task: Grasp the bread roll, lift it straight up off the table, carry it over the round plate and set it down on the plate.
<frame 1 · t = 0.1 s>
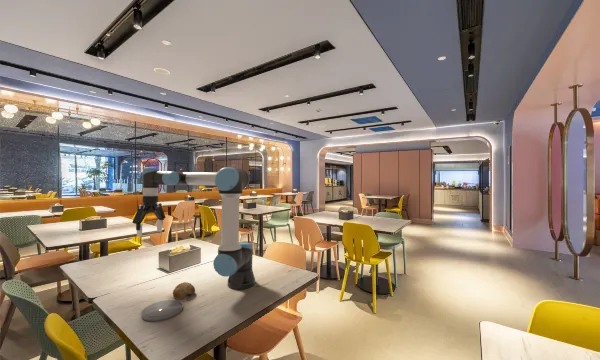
hand: (149, 233, 140), 28 cm above the table, fingers open, 13 cm apart
plate: (162, 311, 111), on the table
bread roll: (183, 295, 127), on the table
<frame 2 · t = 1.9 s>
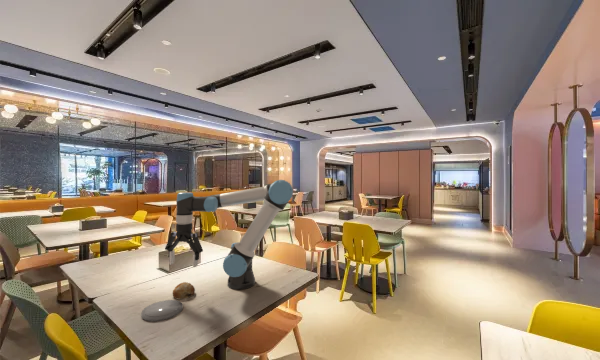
hand: (183, 265, 127), 15 cm above the table, fingers open, 13 cm apart
nothing on the table moved.
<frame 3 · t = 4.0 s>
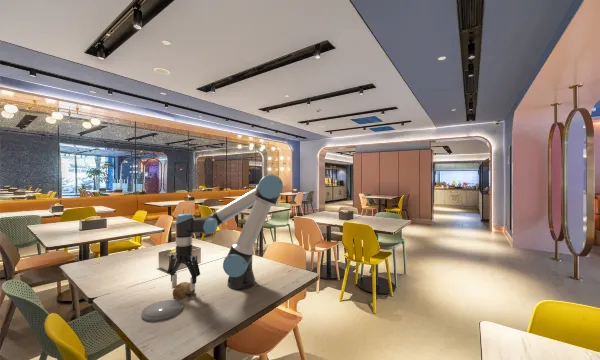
hand: (183, 288, 127), 3 cm above the table, fingers closed on bread roll, 10 cm apart
bread roll: (183, 295, 127), on the table, touching gripper
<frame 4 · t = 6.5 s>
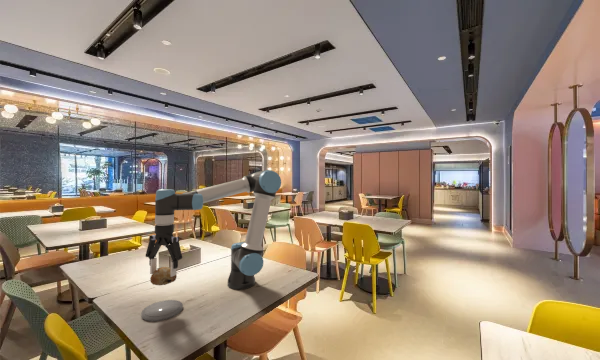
hand: (163, 274, 112), 16 cm above the table, fingers closed on bread roll, 10 cm apart
bread roll: (162, 281, 112), point 13 cm above the table, touching gripper
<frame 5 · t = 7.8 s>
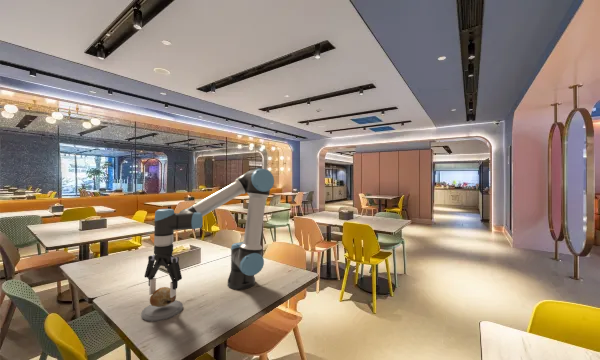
hand: (162, 294, 111), 7 cm above the table, fingers closed on bread roll, 10 cm apart
bread roll: (162, 302, 111), point 4 cm above the table, touching gripper
when the fingers open (6 cm above the table, at t = 9.0 s): bread roll drops 1 cm, resting on plate.
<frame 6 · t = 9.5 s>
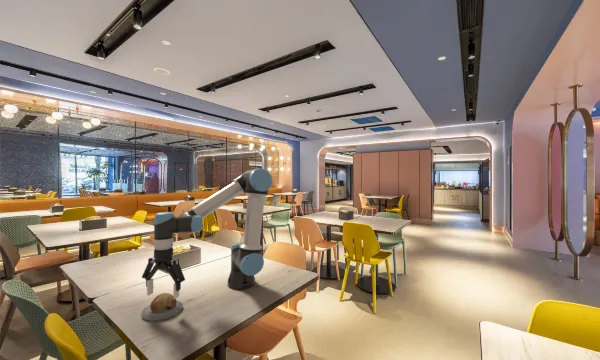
hand: (162, 296, 111), 7 cm above the table, fingers open, 13 cm apart
bread roll: (162, 308, 111), point 1 cm above the table, touching plate
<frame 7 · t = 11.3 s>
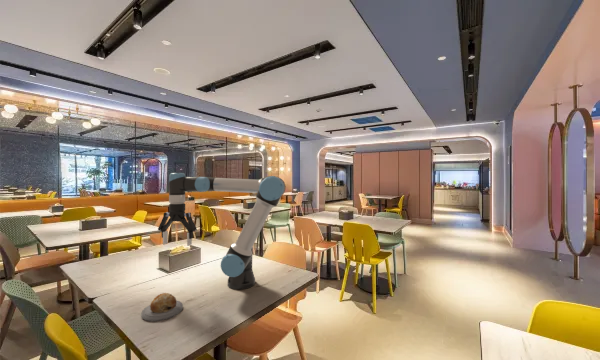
hand: (177, 244, 129), 25 cm above the table, fingers open, 13 cm apart
nothing on the table moved.
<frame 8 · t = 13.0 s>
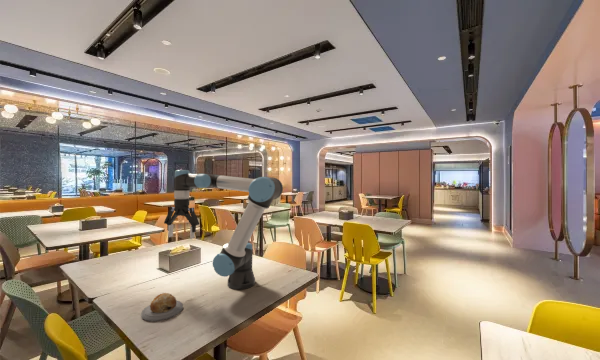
hand: (181, 237, 137), 27 cm above the table, fingers open, 13 cm apart
nothing on the table moved.
at the end: bread roll 0.1 cm from the plate (horizontally); bread roll touching plate; the gripper is holding nothing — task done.
